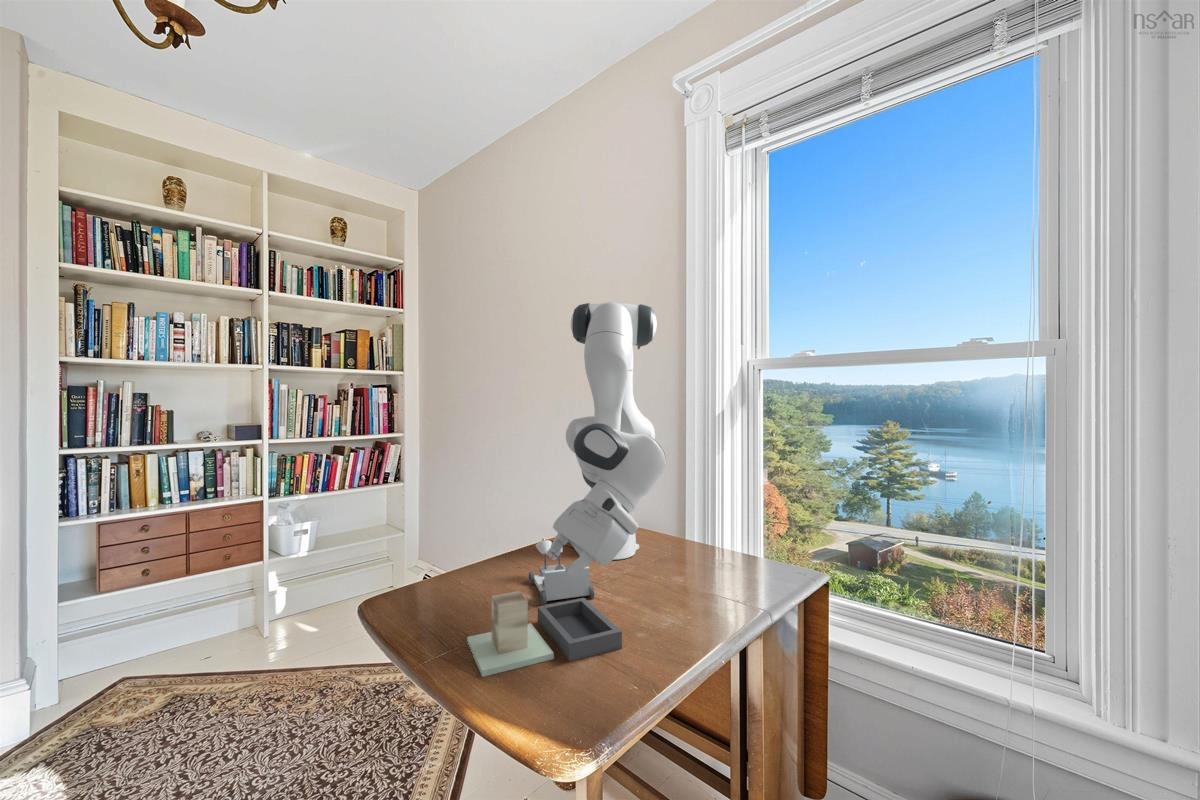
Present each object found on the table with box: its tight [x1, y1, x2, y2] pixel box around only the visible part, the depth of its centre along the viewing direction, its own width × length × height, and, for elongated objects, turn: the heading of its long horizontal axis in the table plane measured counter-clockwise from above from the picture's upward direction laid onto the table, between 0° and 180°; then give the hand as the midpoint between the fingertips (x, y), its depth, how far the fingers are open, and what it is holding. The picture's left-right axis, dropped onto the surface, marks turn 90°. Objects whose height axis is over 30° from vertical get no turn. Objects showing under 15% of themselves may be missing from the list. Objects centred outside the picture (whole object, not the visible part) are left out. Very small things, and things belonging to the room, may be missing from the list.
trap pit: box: [537, 597, 623, 663], centre depth 90 cm, size 16×10×3 cm, turn 27°
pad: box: [466, 622, 555, 678], centre depth 84 cm, size 12×12×1 cm
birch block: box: [491, 590, 529, 654], centre depth 84 cm, size 5×5×8 cm
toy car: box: [528, 538, 595, 606], centre depth 112 cm, size 18×10×12 cm
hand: (558, 565), depth 88 cm, fingers open, 8 cm apart
